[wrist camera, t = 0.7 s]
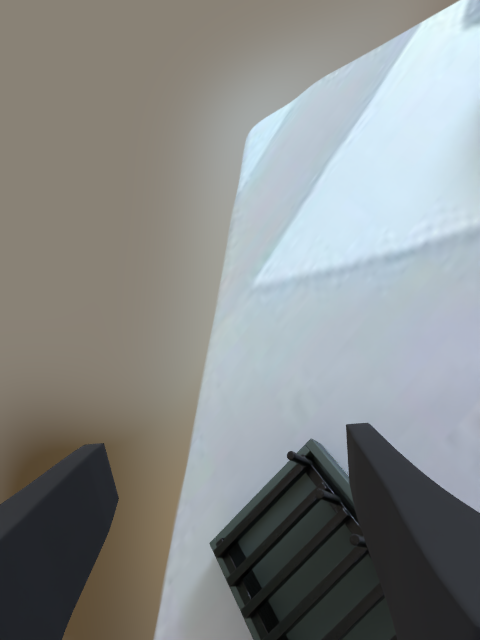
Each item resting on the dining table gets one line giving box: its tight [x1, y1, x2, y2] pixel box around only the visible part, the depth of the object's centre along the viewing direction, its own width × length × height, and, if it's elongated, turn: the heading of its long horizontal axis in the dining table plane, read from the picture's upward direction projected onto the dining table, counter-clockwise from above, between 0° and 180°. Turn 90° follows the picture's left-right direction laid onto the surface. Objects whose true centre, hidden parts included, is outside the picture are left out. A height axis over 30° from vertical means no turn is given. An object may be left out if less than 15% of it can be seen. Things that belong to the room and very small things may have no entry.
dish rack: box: [210, 439, 397, 640], centre depth 21 cm, size 14×10×5 cm
